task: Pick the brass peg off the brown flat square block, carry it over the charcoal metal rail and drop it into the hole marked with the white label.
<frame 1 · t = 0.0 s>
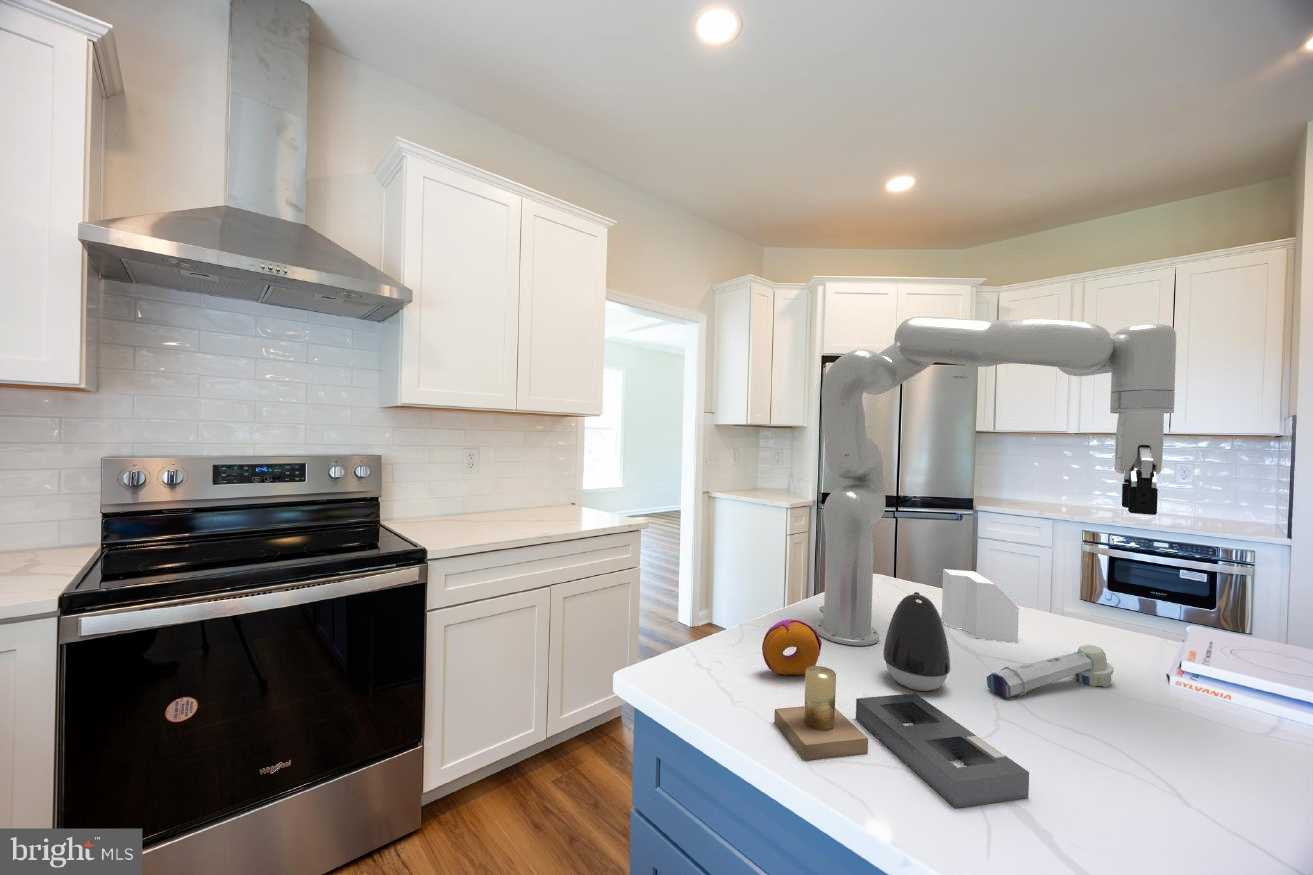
hand: (1138, 510, 84), 31 cm above the counter, tool pointing down, fingers open, 9 cm apart
brass peg: (819, 722, 72), point 2 cm above the counter, touching brown flat square block
brown flat square block: (818, 737, 72), on the counter
donut: (790, 677, 91), on the counter
grey mallet: (1052, 690, 89), on the counter
black egg pod: (915, 684, 89), on the counter
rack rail: (931, 753, 69), on the counter
corner bracket: (977, 632, 116), on the counter
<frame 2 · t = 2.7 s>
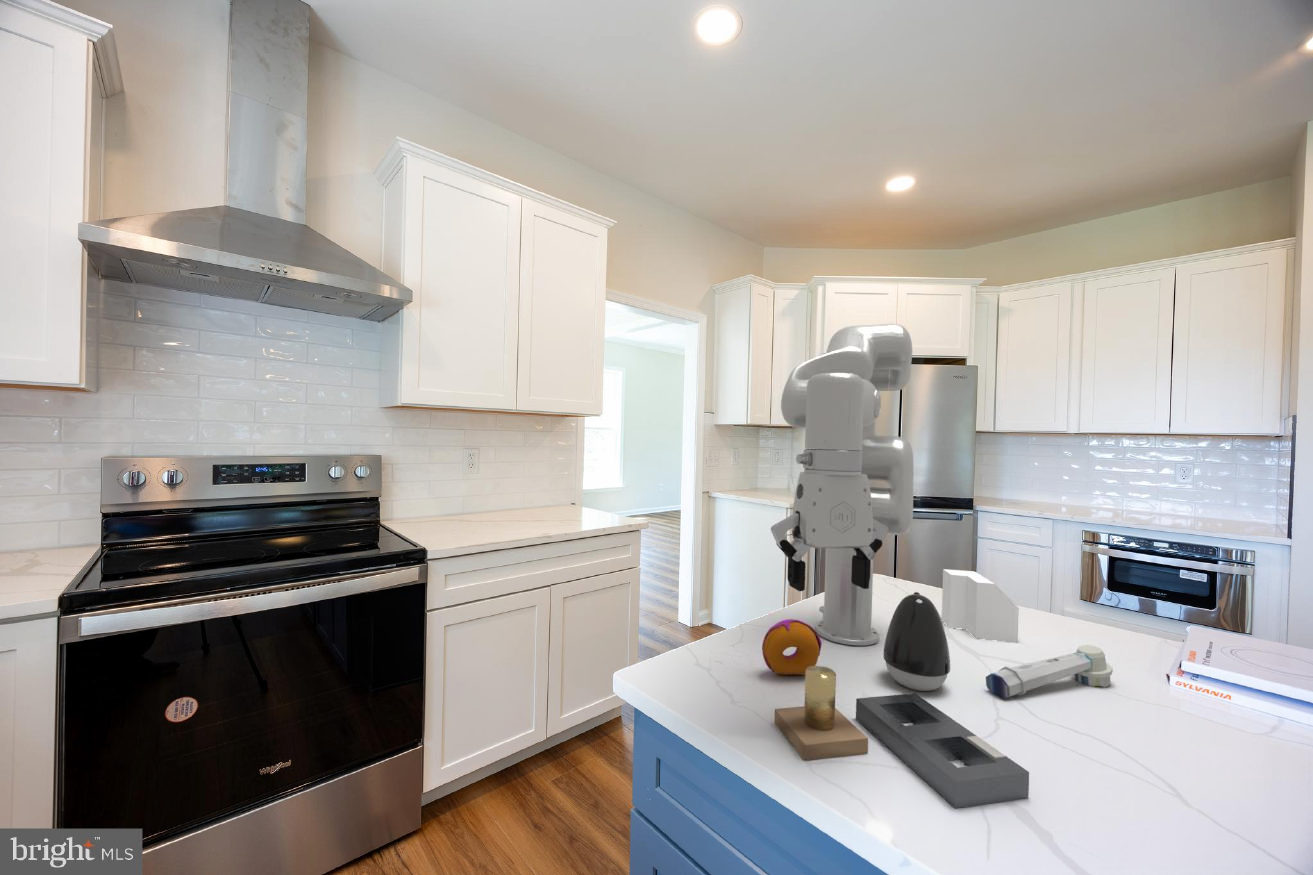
hand: (828, 587, 72), 21 cm above the counter, tool pointing down, fingers open, 9 cm apart
nothing on the counter moved.
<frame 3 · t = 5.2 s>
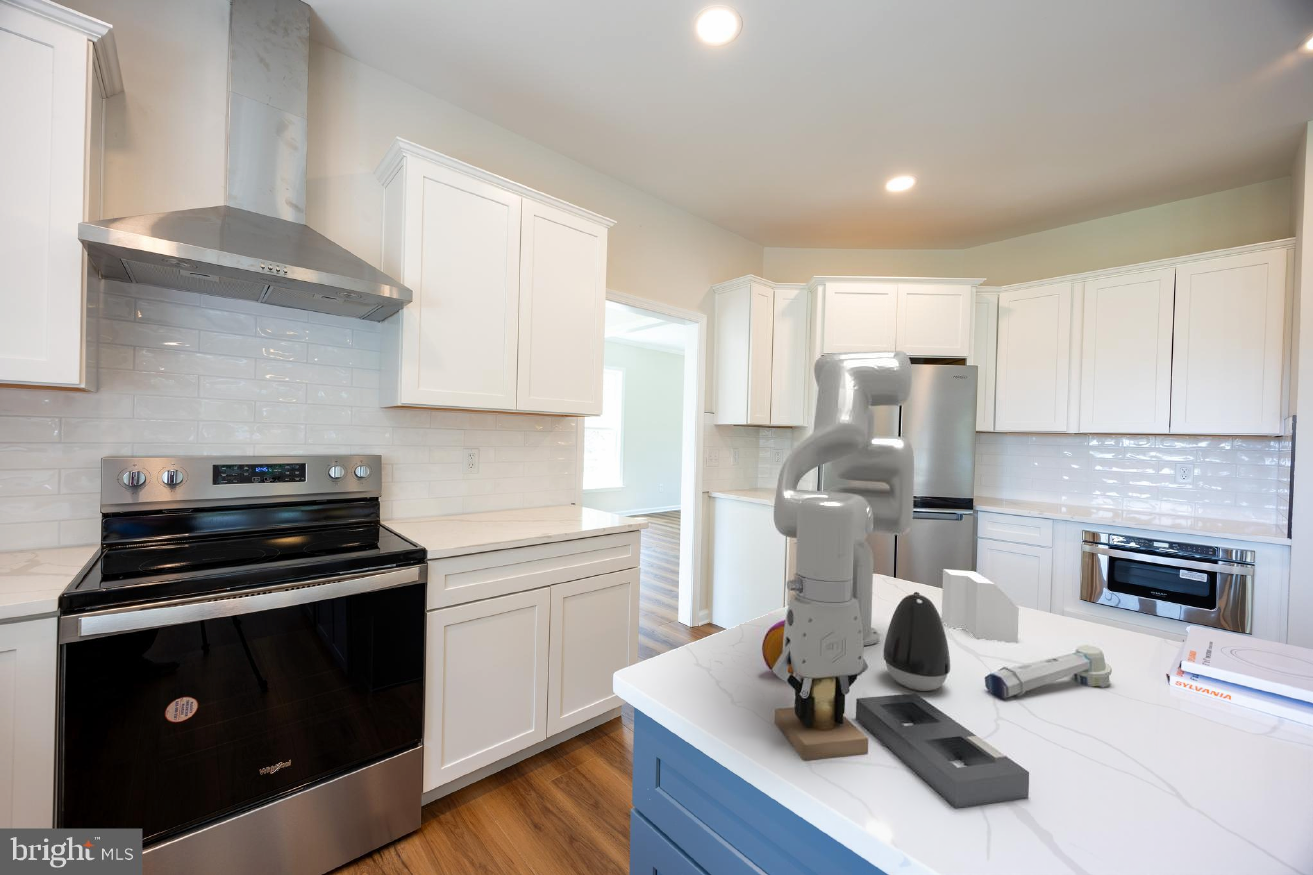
hand: (819, 719, 72), 3 cm above the counter, tool pointing down, fingers closed on brass peg, 4 cm apart
brass peg: (819, 722, 72), point 2 cm above the counter, touching gripper, brown flat square block
everything else where it was.
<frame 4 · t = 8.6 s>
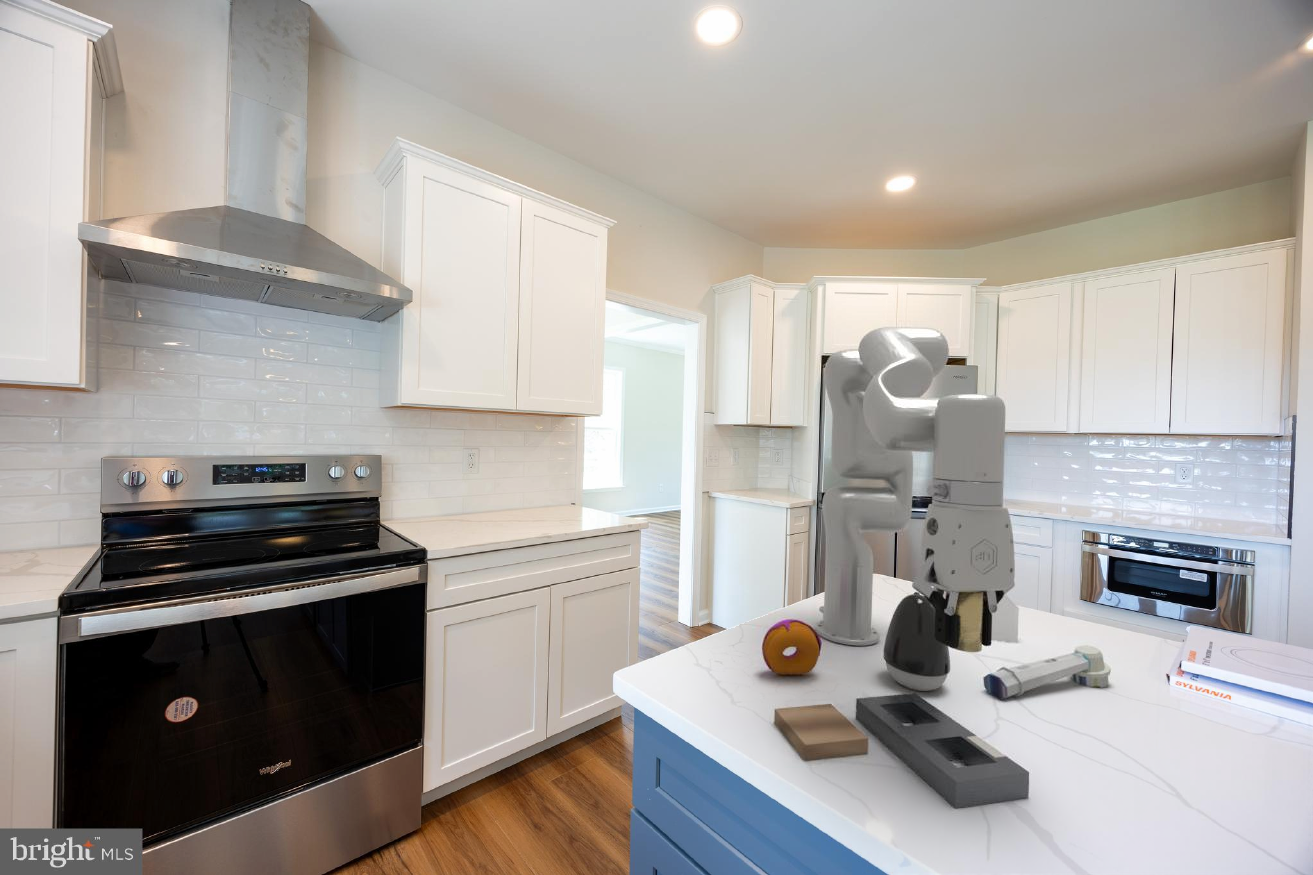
hand: (962, 641, 65), 17 cm above the counter, tool pointing down, fingers closed on brass peg, 4 cm apart
brass peg: (962, 645, 65), point 16 cm above the counter, touching gripper
everything else where it was.
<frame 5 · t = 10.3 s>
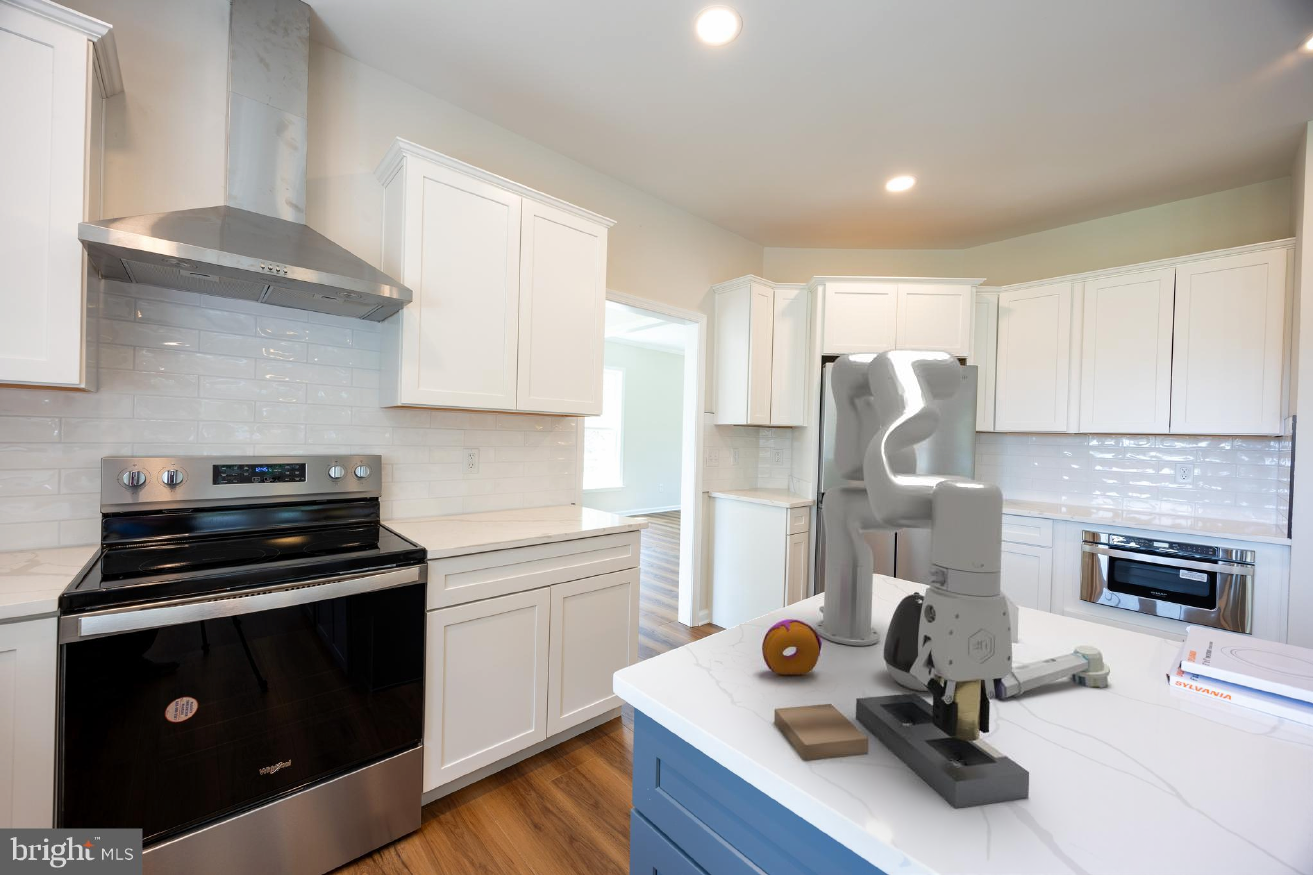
hand: (960, 727, 65), 6 cm above the counter, tool pointing down, fingers closed on brass peg, 4 cm apart
brass peg: (960, 731, 65), point 5 cm above the counter, touching gripper
everything else where it was.
when the fingers open (5 cm above the counter, at t = 11.8 s): brass peg drops 4 cm, resting in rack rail.
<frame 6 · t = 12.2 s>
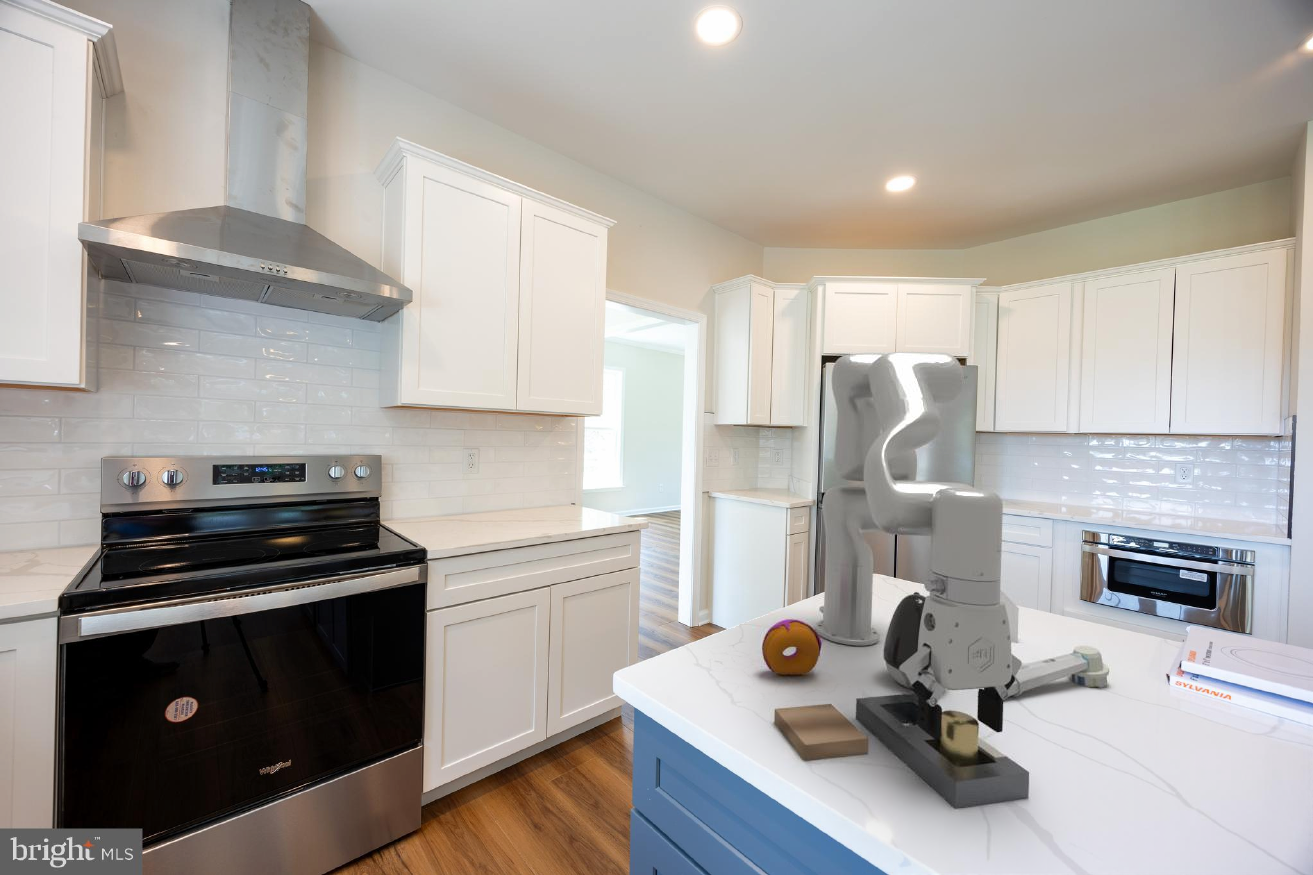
hand: (959, 728, 65), 6 cm above the counter, tool pointing down, fingers open, 8 cm apart
brass peg: (958, 775, 65), resting in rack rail
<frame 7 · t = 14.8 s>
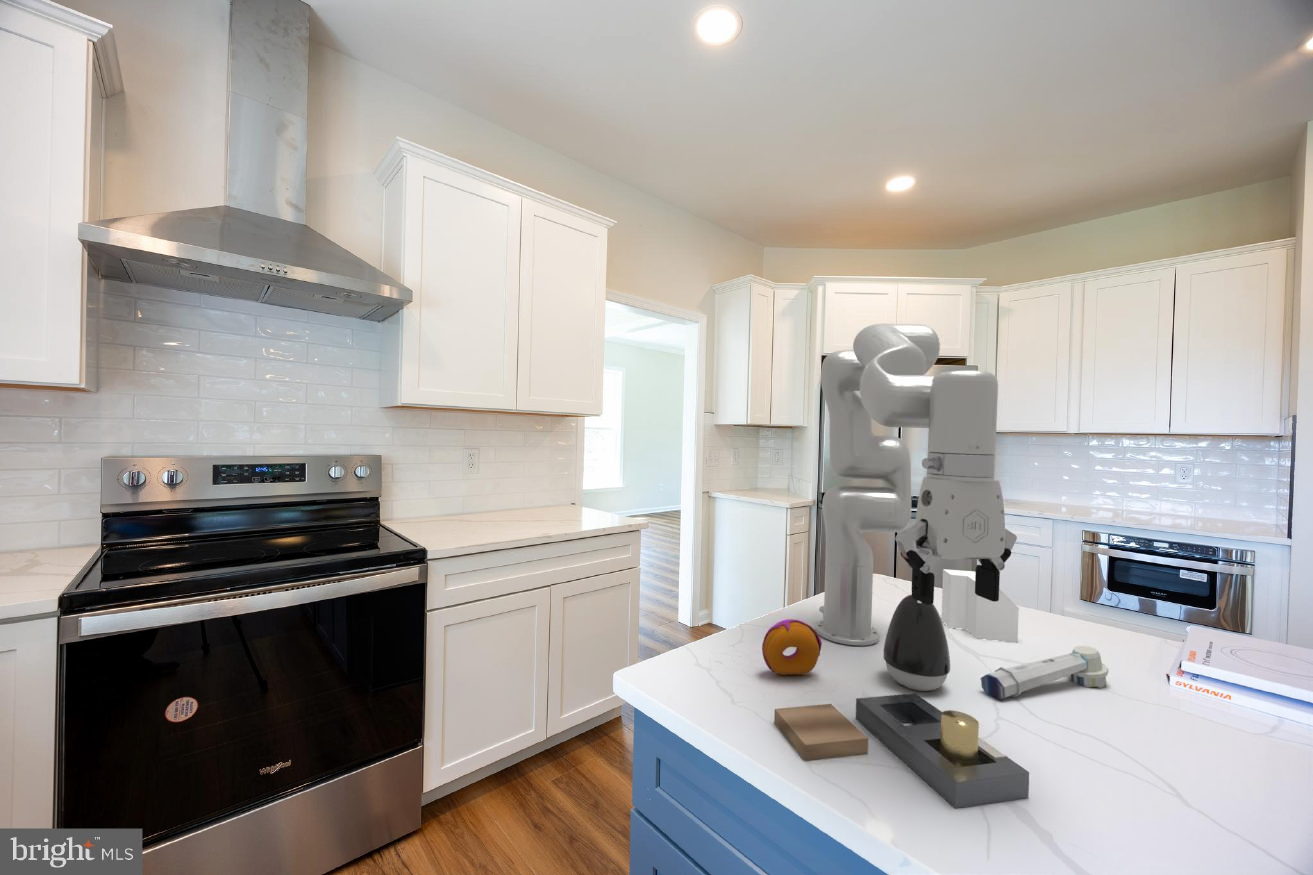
hand: (954, 599, 68), 21 cm above the counter, tool pointing down, fingers open, 9 cm apart
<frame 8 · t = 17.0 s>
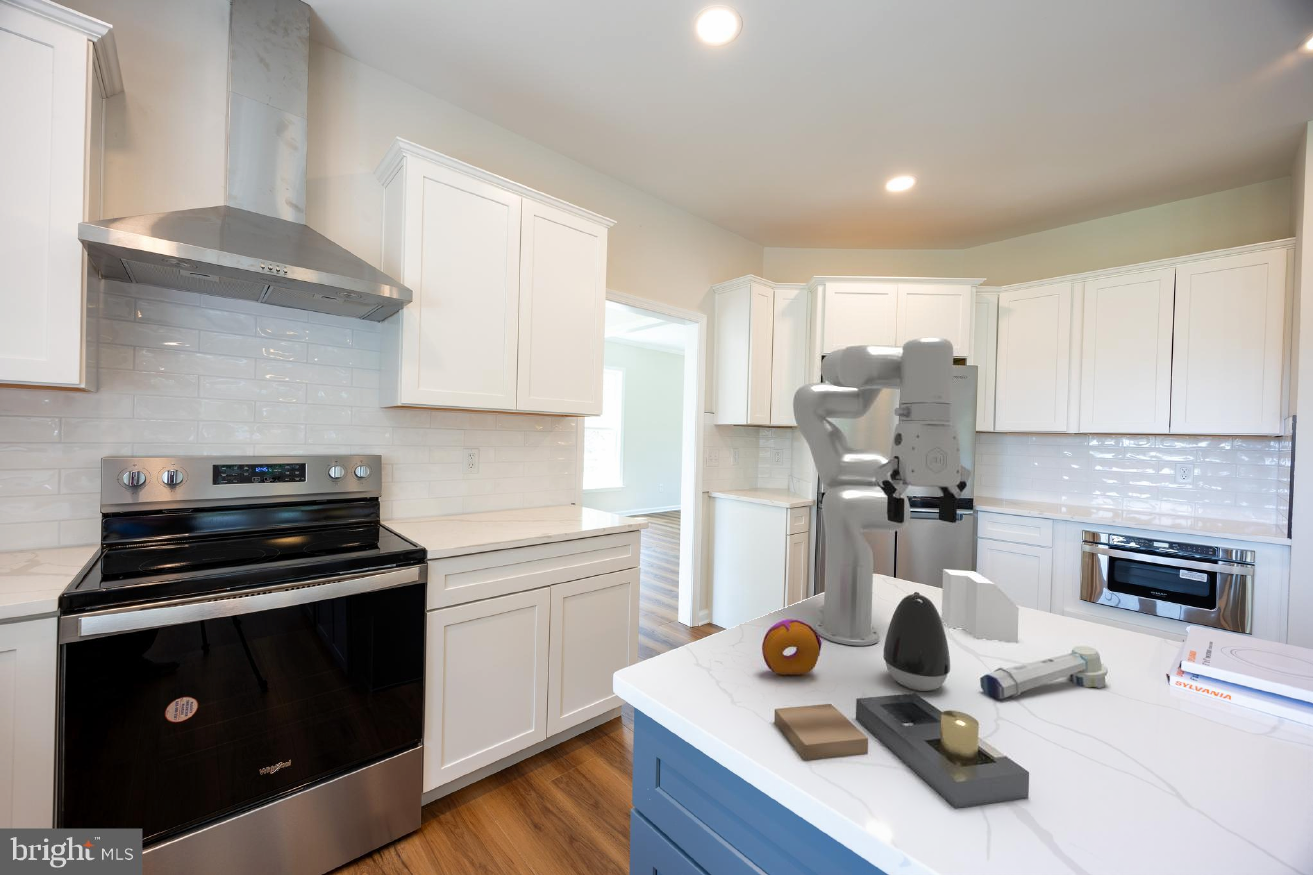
hand: (921, 521, 85), 28 cm above the counter, tool pointing down, fingers open, 9 cm apart
at the end: brass peg 0.0 cm from the target spot on the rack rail, point 0.0 cm above the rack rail's base; brass peg tilted 0°; the gripper is holding nothing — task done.
